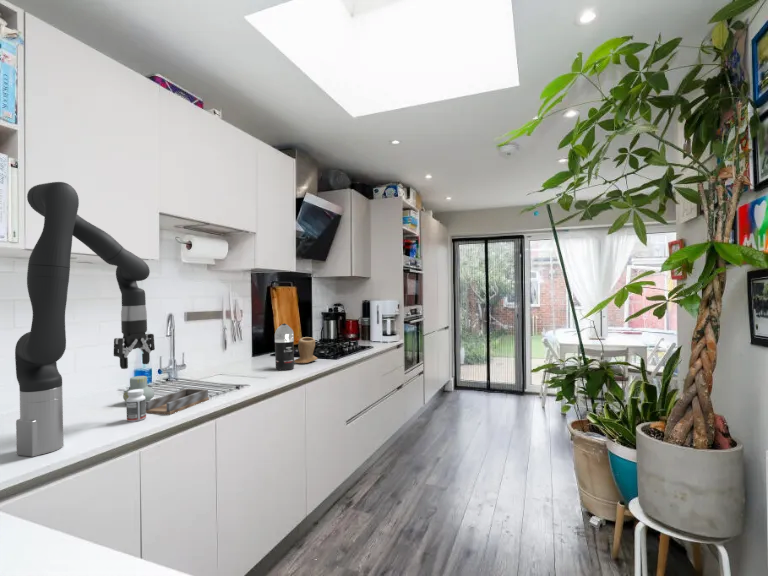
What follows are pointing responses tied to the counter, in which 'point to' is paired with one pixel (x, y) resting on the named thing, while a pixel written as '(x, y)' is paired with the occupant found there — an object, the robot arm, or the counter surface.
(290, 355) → the black labeled bottle
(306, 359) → the stone cup
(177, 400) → the grey tray
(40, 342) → the robot arm
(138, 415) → the pill bottle
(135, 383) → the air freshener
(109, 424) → the counter surface
